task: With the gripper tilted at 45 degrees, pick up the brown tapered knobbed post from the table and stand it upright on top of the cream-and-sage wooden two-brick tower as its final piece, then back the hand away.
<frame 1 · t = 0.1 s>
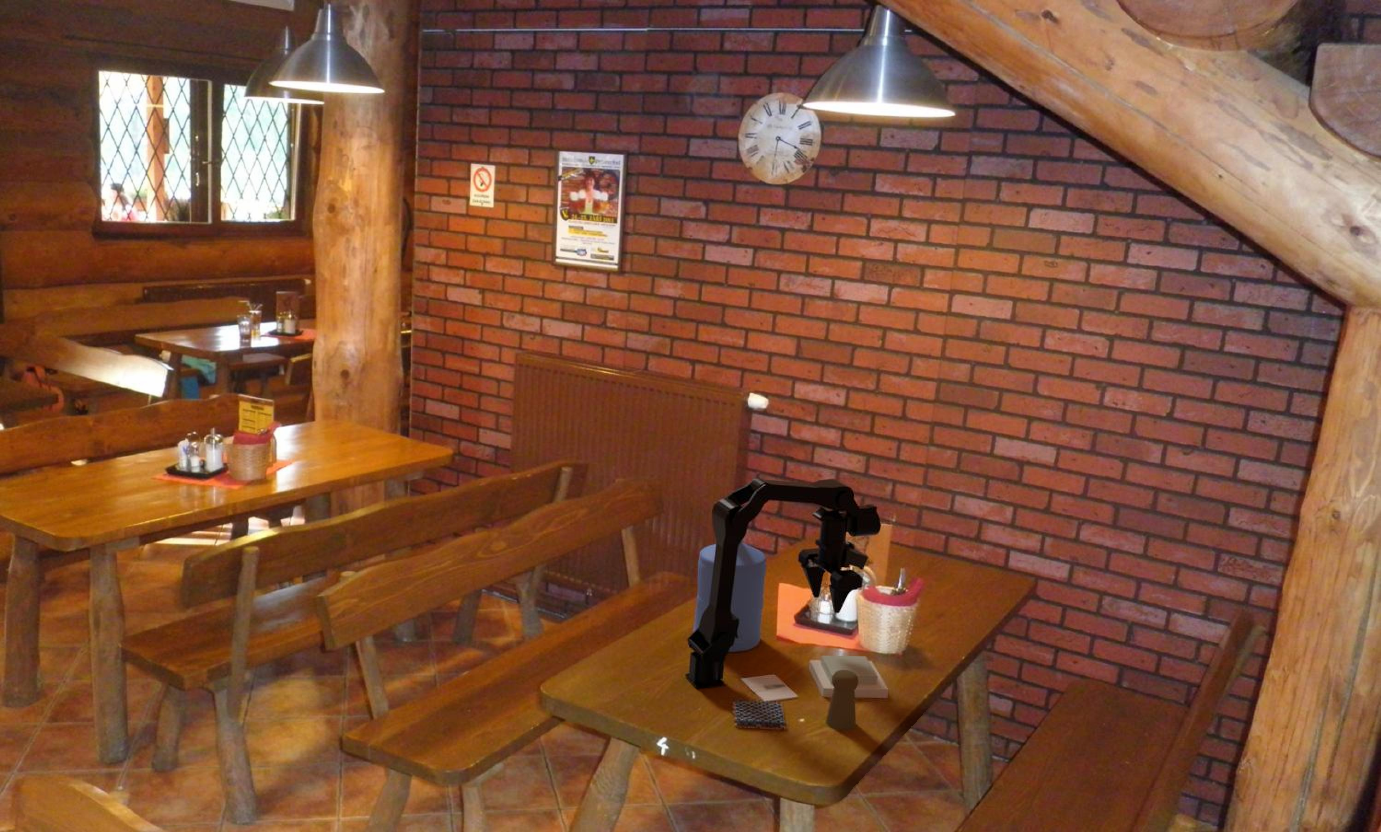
hand: (826, 604, 259), 15 cm above the table, tool pointing down, fingers open, 9 cm apart
brown tapered knobbed post: (840, 724, 236), on the table
instruction card: (769, 688, 250), on the table
woven mat: (758, 720, 237), on the table
water jug: (726, 640, 274), on the table
tower base: (847, 682, 255), on the table
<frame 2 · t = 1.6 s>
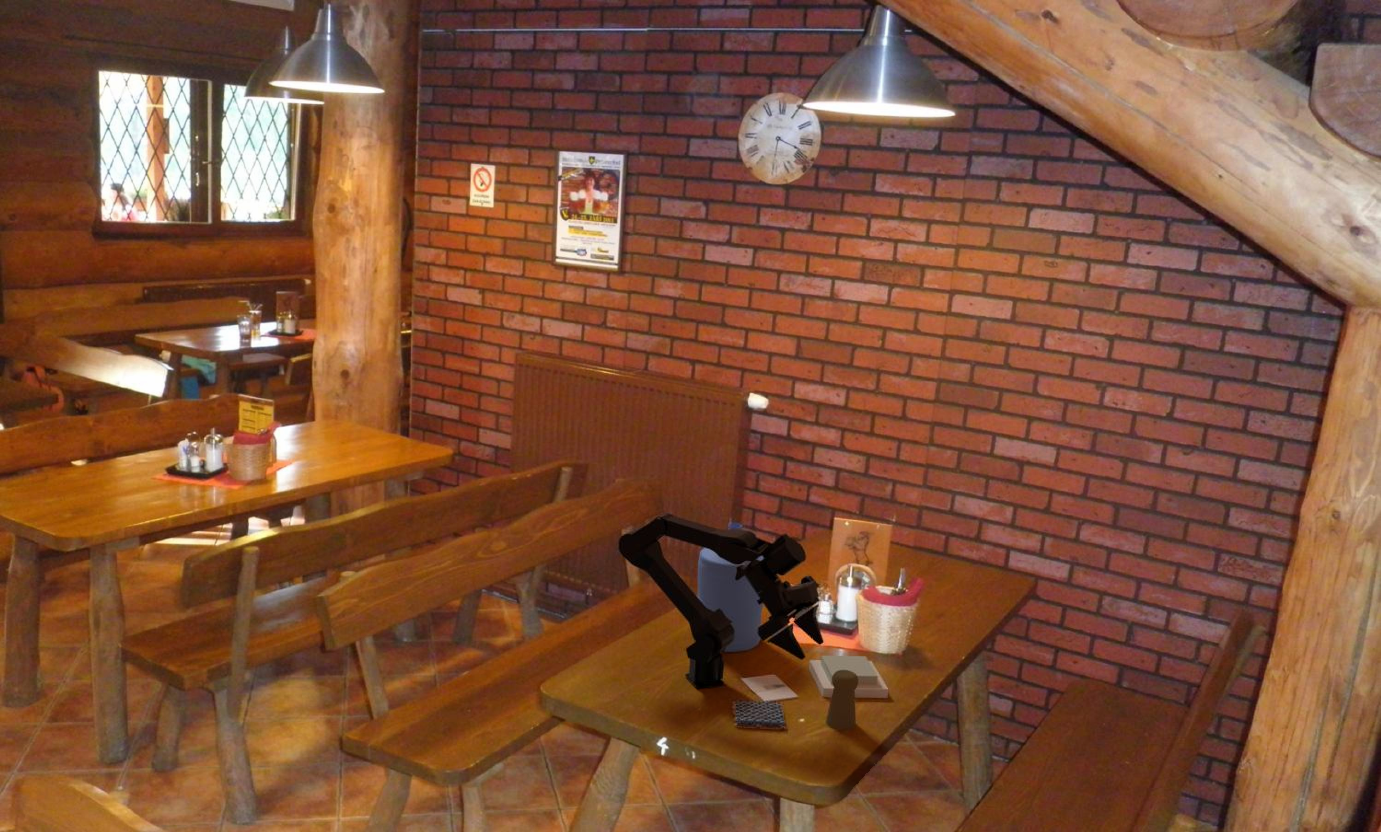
hand: (812, 650, 237), 13 cm above the table, tool tilted 45°, fingers open, 9 cm apart
nothing on the table moved.
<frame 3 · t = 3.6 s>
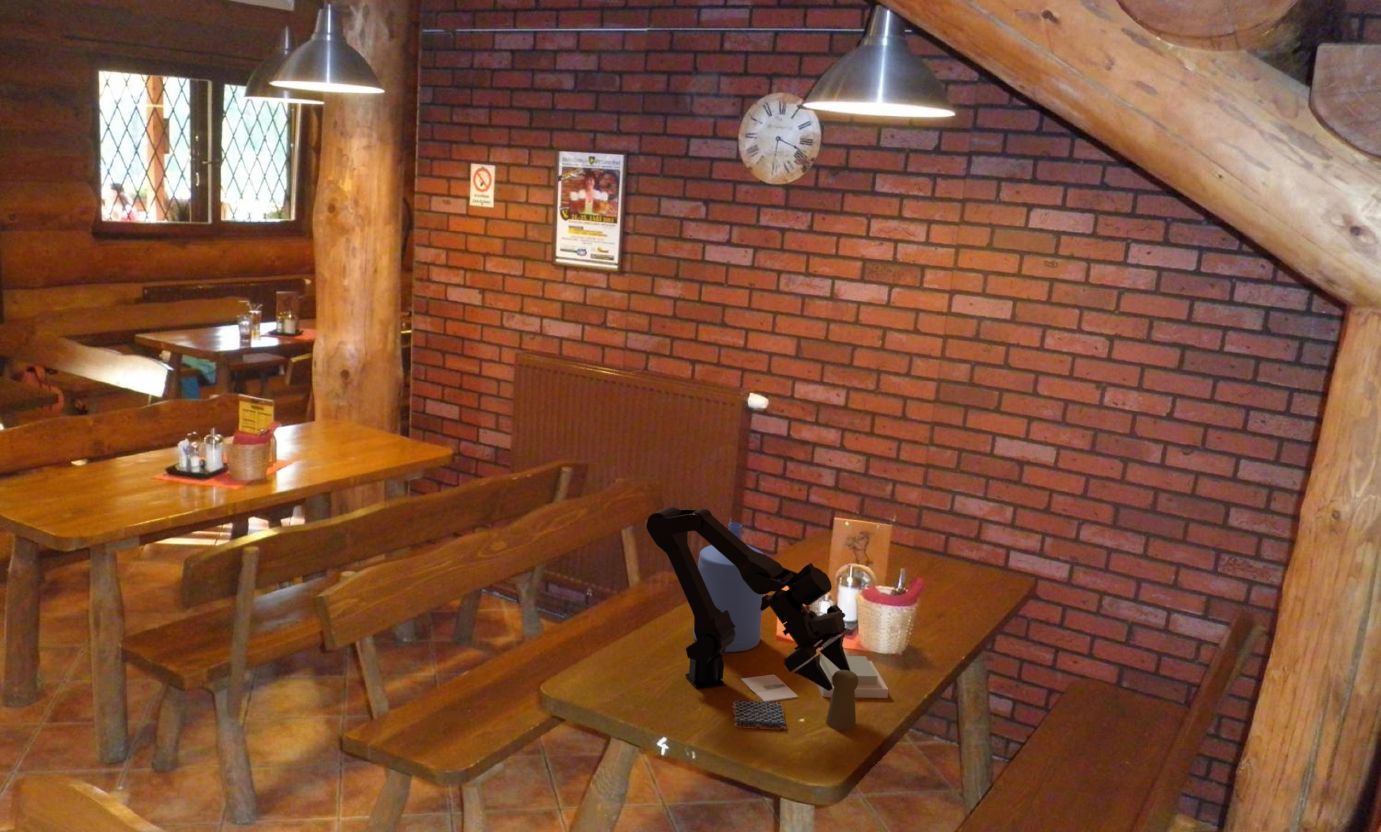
hand: (840, 681, 235), 9 cm above the table, tool tilted 45°, fingers open, 9 cm apart
nothing on the table moved.
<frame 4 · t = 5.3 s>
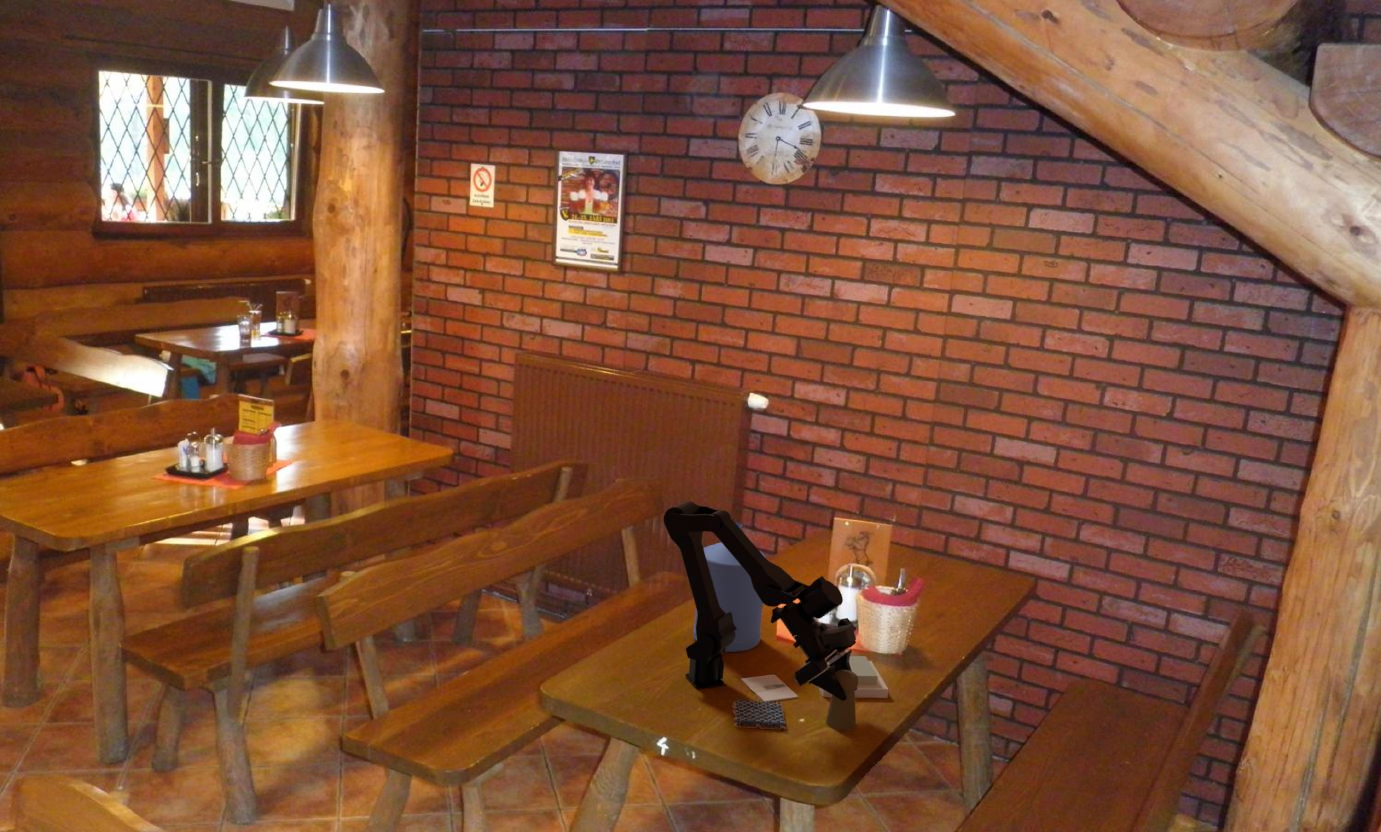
hand: (850, 694, 234), 7 cm above the table, tool tilted 45°, fingers closed on brown tapered knobbed post, 5 cm apart
brown tapered knobbed post: (840, 723, 236), on the table, touching gripper
everything else where it was.
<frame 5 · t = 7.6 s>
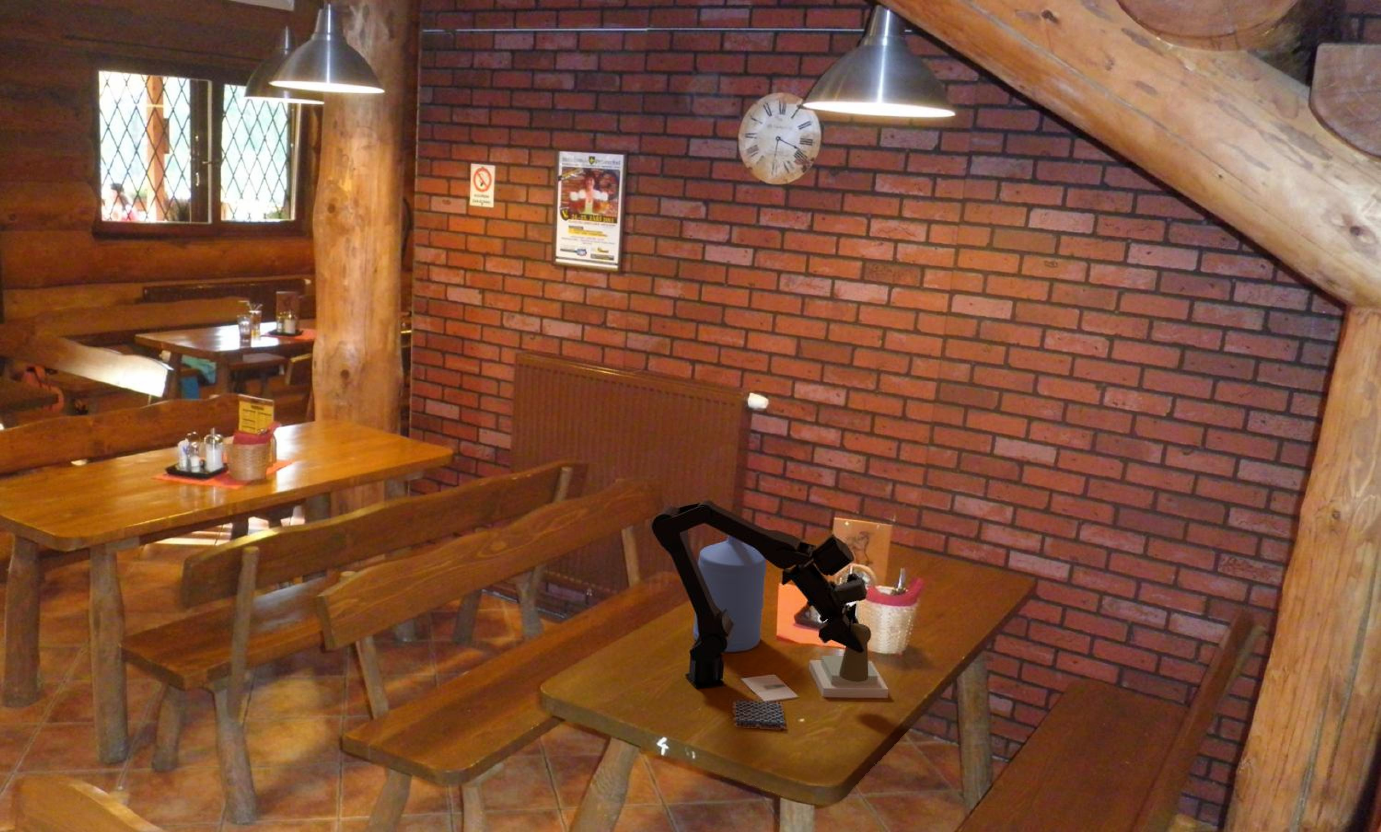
hand: (863, 646, 241), 13 cm above the table, tool tilted 45°, fingers closed on brown tapered knobbed post, 5 cm apart
brown tapered knobbed post: (853, 676, 243), point 6 cm above the table, touching gripper
everything else where it was.
when the fingers open (11 cm above the table, at t = 10.1 s): brown tapered knobbed post stays where it is, resting on tower base.
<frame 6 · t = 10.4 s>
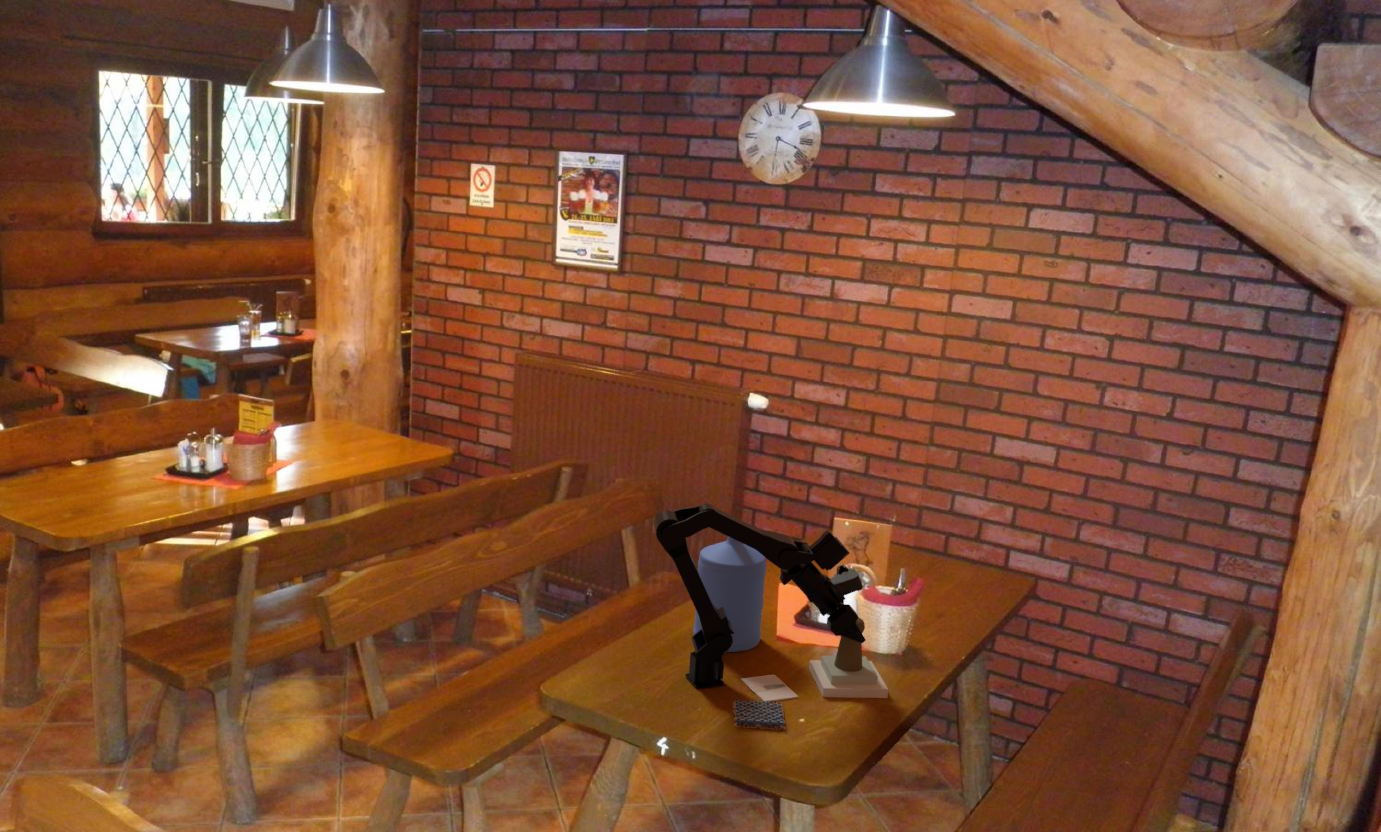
hand: (858, 633, 253), 12 cm above the table, tool tilted 45°, fingers open, 8 cm apart
brown tapered knobbed post: (848, 666, 254), point 4 cm above the table, touching tower base
everything else where it was.
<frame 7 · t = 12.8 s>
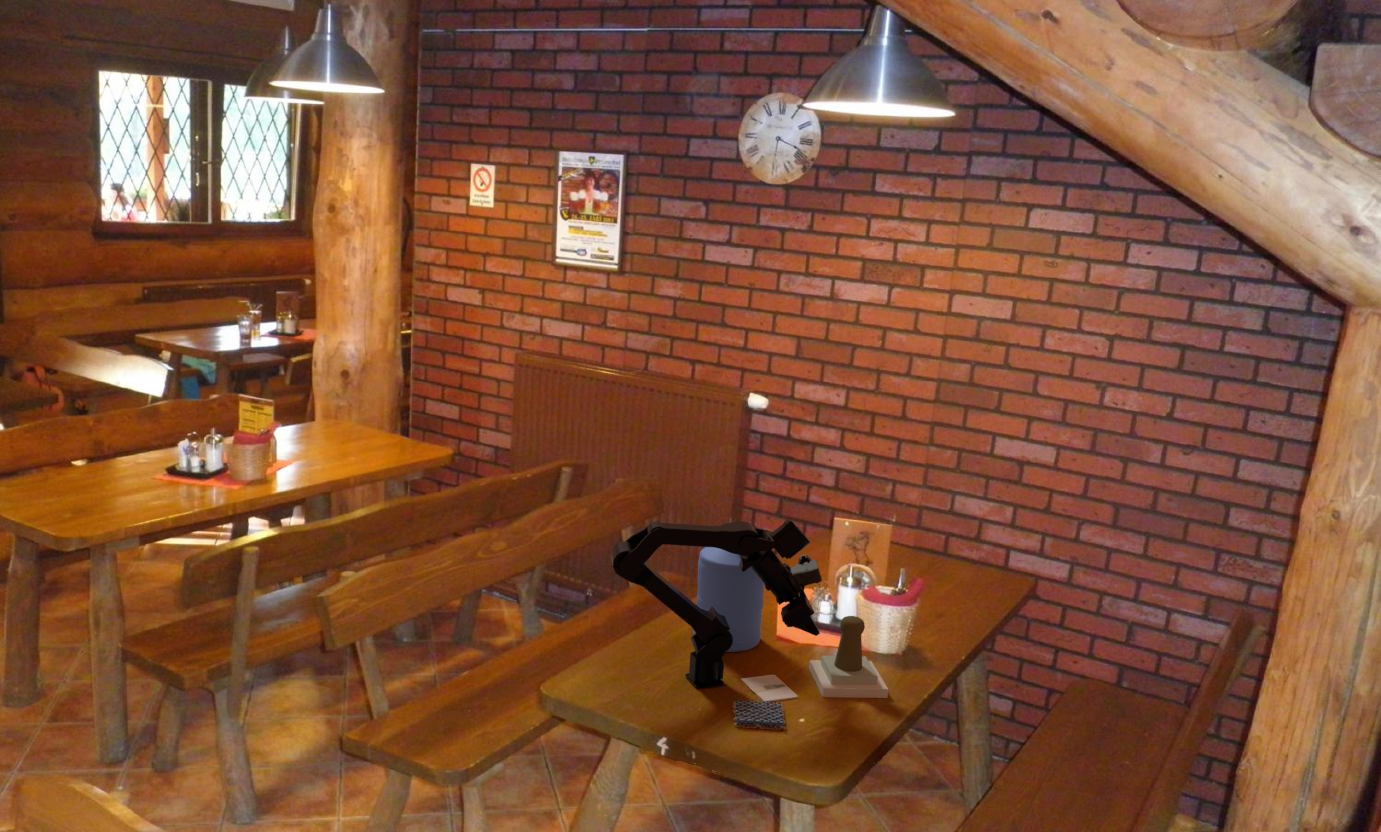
hand: (815, 623, 252), 13 cm above the table, tool tilted 40°, fingers open, 9 cm apart
nothing on the table moved.
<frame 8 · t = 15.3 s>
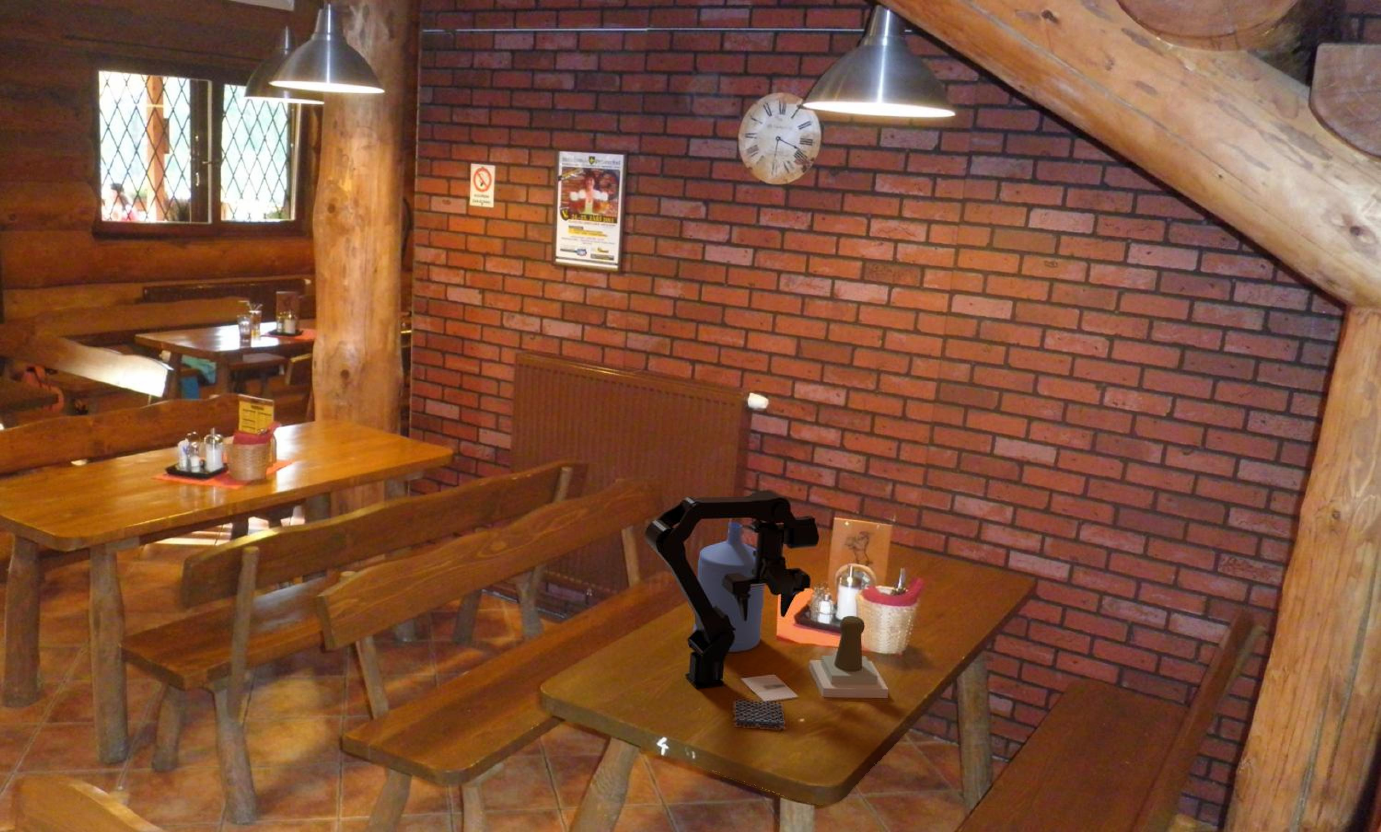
hand: (763, 618, 253), 13 cm above the table, tool pointing down, fingers open, 9 cm apart
nothing on the table moved.
at the end: brown tapered knobbed post 0.2 cm off-centre on the tower base, point 3.8 cm above the tower base's base; brown tapered knobbed post tilted 0°; brown tapered knobbed post touching tower base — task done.
